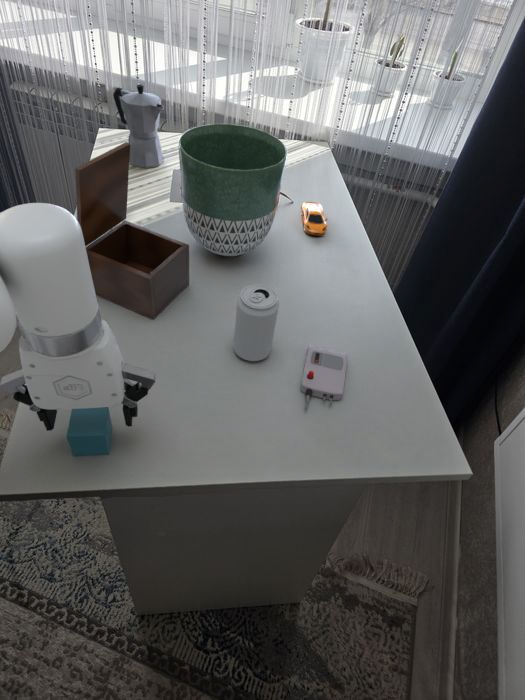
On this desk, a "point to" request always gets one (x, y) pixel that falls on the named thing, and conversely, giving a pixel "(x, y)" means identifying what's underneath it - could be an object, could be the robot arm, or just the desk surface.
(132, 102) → the coffeepot
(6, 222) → the robot arm
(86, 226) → the lid
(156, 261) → the chest
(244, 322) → the beverage can
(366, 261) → the desk surface
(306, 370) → the white electronic control box
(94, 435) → the block
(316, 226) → the toy car
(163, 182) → the desk surface
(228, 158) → the planter
